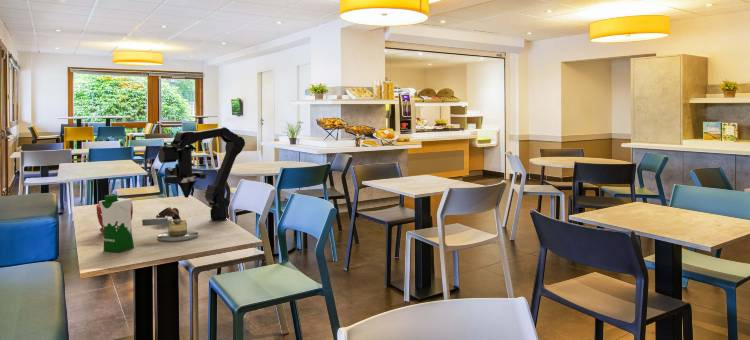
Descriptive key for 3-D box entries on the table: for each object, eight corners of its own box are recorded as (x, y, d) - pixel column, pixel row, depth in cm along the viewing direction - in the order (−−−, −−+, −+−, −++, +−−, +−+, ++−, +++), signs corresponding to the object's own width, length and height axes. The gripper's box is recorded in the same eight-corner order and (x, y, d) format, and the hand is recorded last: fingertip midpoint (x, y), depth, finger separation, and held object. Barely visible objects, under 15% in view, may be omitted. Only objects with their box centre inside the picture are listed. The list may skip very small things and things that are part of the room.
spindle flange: (206, 234, 211) (205, 217, 211) (178, 243, 198) (177, 225, 197) (177, 231, 218) (177, 214, 217) (148, 239, 204) (147, 222, 203)
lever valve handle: (188, 230, 212) (187, 215, 211) (186, 234, 205) (185, 218, 204) (145, 233, 208) (144, 217, 207) (141, 237, 201) (140, 221, 200)
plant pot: (90, 234, 212) (88, 205, 211) (118, 227, 224) (116, 199, 223) (114, 237, 207) (112, 207, 205) (141, 230, 219) (139, 201, 217)
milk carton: (99, 251, 188) (95, 195, 185) (119, 245, 196) (115, 191, 194) (119, 253, 185) (115, 197, 182) (138, 247, 193) (135, 192, 191)
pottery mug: (179, 227, 227) (167, 211, 224) (161, 236, 229) (149, 220, 226) (189, 214, 238) (178, 199, 235) (171, 223, 240) (161, 208, 237)
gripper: (186, 158, 237) (188, 193, 239) (153, 162, 220) (155, 199, 222) (205, 159, 232) (207, 194, 234) (173, 163, 215) (175, 201, 217)
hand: (186, 197), depth 227 cm, fingers closed
